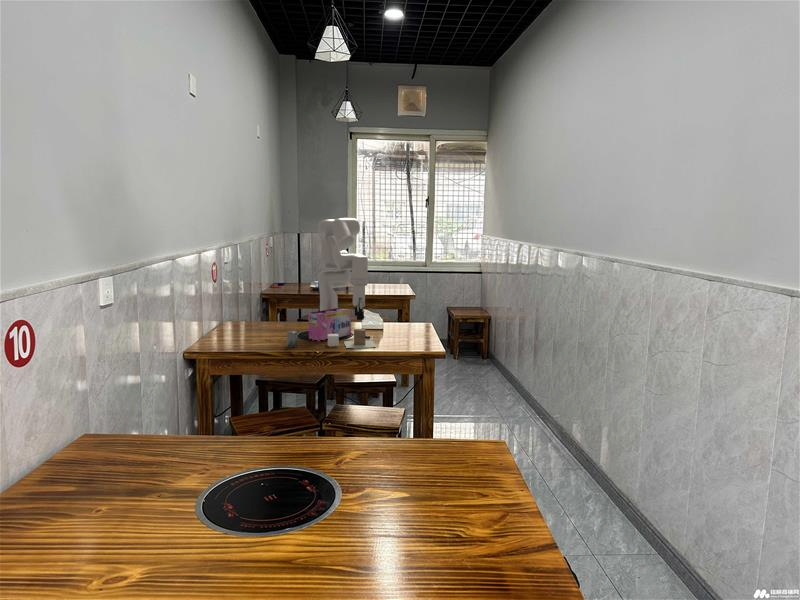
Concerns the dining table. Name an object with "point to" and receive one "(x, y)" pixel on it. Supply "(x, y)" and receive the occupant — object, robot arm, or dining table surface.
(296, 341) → the metal tin
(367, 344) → the sage mat
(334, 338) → the grey block
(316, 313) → the gum box
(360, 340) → the walnut block
